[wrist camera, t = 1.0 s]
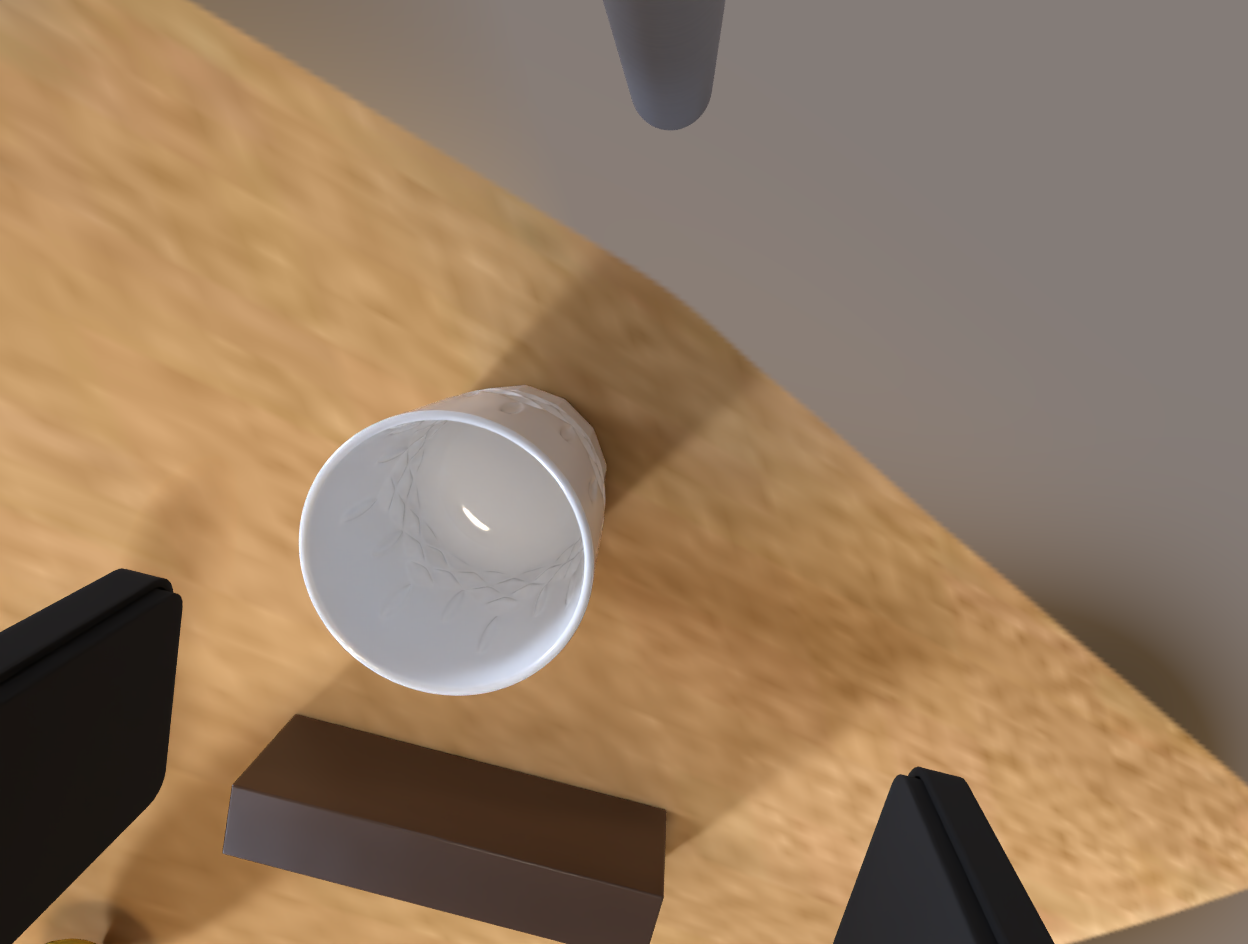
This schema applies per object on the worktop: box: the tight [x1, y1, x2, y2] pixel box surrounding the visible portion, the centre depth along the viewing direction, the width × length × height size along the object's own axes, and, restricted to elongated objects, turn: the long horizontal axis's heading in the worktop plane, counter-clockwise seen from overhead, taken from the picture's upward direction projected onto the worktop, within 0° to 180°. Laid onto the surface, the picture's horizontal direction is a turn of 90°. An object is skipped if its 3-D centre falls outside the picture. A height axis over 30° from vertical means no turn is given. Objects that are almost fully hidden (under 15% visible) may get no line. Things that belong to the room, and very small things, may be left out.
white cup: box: [299, 385, 607, 696], centre depth 26 cm, size 8×8×10 cm
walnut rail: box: [223, 715, 666, 944], centre depth 32 cm, size 3×16×5 cm, turn 76°
